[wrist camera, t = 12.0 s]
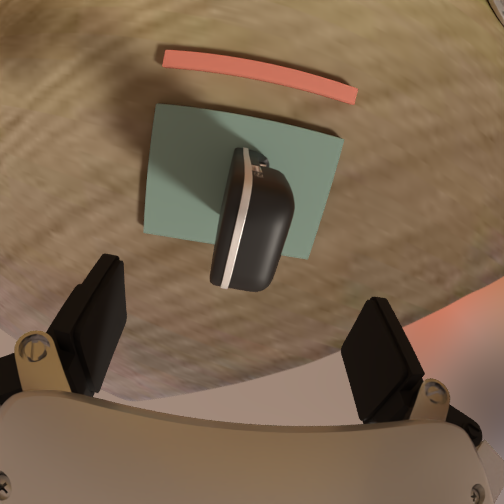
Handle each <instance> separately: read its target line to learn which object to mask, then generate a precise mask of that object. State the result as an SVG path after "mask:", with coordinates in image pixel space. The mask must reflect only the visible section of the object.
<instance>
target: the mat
mask: <svg viewBox="0 0 504 504" xmlns="http://www.w3.org/2000/svg"><path fill="white" fill-rule="evenodd" d="M343 143H344V139H342V138H339V137H336V136H332V135H329V134H325V133H321V132H318V131H314V130H310V129H306V128H302V127H298V126H294V125H290V124H286V123H281V122H277V121H272V120H267V119H262V118H257V117H252V116H247V115H242V114H236V113H230V112H224V111H218V110H211V109H204V108H197V107H189V106H180V105H171V104H160V103H158V104H156V108H155V115H154V122H153V129H152V137H151V145H150V154H149V163H148V173H147V185H146V198H145V214H144V233H148V234H154V235H160V236H167V237H173V238H179V239H185V240H191V241H197V242H204V243H210V244H215V240H216V234H217V228H218V222H219V216H220V211H221V206H222V201H223V197H224V192H225V188H226V183H227V179H228V174H229V170H230V166H231V161H232V157H233V153H234V150H235V148H237V147H239V148H243V147H245V148H248V149H249V150H253V151H257V152H259V153H261V154H263V155H264V156H265V157H267V159H268V161H269V165H270V166H269V168H273V169H276V170H278V171H280V172H281V173H283V174H284V175H285V177H286V179H287V181H288V182H289V184H290V187H291V189H292V192H293V196H294V202H295V210H294V215H293V219H292V222H291V226H290V229H289V232H288V235H287V238H286V241H285V244H284V248H283V251H282V254H281V255H284V256H290V257H296V258H302V259H308V257H309V254H310V251H311V248H312V245H313V242H314V239H315V236H316V233H317V230H318V227H319V224H320V220H321V217H322V214H323V211H324V208H325V204H326V201H327V198H328V195H329V191H330V188H331V185H332V181H333V178H334V174H335V171H336V167H337V164H338V160H339V157H340V153H341V150H342V146H343Z"/></svg>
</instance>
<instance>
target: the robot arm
mask: <svg viewBox="0 0 504 504" xmlns="http://www.w3.org/2000/svg"><path fill="white" fill-rule="evenodd" d="M488 1H489V3H490V5H491V7H492V8H493V10H494V12H495V14H496V15H497V17H498V18H499V20H500V21H501V23H502V24H503V25H504V0H488ZM126 319H127V312H126V300H125V284H124V264H123V261H120V260H119V257H118V256H115V255H110V254H103V255H102V256H101V257H100V259H99V260H98V261H97V263H96V264H95V266H94V267H93V268H92V270H91V271H90V273H89V274H88V276H87V277H86V279H85V280H84V281H83V283H82V284H78V285H77V286H76V287H75V288H74V290H73V291H72V293H71V294H70V296H69V297H68V299H67V300H66V302H65V303H64V305H63V306H62V308H61V309H60V311H59V312H58V314H57V316H56V317H55V319H54V320H53V322H52V324H51V325H50V327H49V328H48V330H47V332H46V333H45V332H43V331H30V332H28V333H25V334H24V335H22V336H21V337H20V338H19V339H18V341H17V342H16V345H15V349H14V353H12V354H10V355H7V356H4V357H1V358H0V504H494V503H495V501H496V500H497V498H498V496H499V494H500V493H501V490H502V489H503V487H504V460H503V459H502V458H501V457H500V456H499V455H498V453H497V452H496V451H495V450H494V449H493V448H492V447H491V446H490V445H489V443H487V441H486V440H483V441H482V431H481V429H480V426H479V425H478V424H477V423H476V422H475V421H474V420H472V419H471V418H469V417H468V416H466V415H465V414H463V413H462V412H460V411H459V410H457V409H455V408H454V407H453V406H451V405H450V394H449V391H448V389H447V388H446V387H445V385H444V384H442V383H441V382H440V381H438V380H436V379H431V378H430V379H426V380H425V381H423V379H422V377H423V376H424V374H425V373H424V371H423V369H422V367H421V365H420V362H419V361H418V358H417V356H416V354H415V352H414V350H413V348H412V346H411V344H410V342H409V340H408V338H407V336H406V335H405V332H404V330H403V328H402V326H401V325H400V323H399V321H398V319H397V317H396V315H395V313H394V311H393V310H392V308H391V306H390V304H389V302H388V300H387V299H386V298H380V297H372V298H370V300H367V301H366V303H365V304H364V306H363V308H362V310H361V312H360V314H359V316H358V318H357V320H356V322H355V323H354V325H353V327H352V329H351V331H350V333H349V334H348V336H347V338H346V340H345V341H344V343H343V345H342V348H341V355H342V358H343V361H344V365H345V368H346V372H347V375H348V379H349V382H350V386H351V390H352V393H353V397H354V401H355V404H356V408H357V412H358V416H359V419H360V420H361V421H363V424H358V425H341V426H274V425H273V426H272V425H255V424H242V423H231V422H221V421H212V420H205V419H197V418H191V417H184V416H178V415H172V414H166V413H161V412H156V411H151V410H146V409H141V408H137V407H131V406H127V405H123V404H119V403H115V402H111V401H107V400H103V399H99V398H94V397H93V395H94V393H95V392H96V393H98V392H99V391H100V389H101V386H102V383H103V380H104V378H105V375H106V372H107V369H108V367H109V364H110V361H111V359H112V356H113V354H114V351H115V349H116V346H117V344H118V341H119V339H120V336H121V334H122V331H123V329H124V326H125V324H126Z"/></svg>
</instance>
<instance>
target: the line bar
mask: <svg viewBox="0 0 504 504" xmlns="http://www.w3.org/2000/svg"><path fill="white" fill-rule="evenodd" d="M162 67H165V68H176V69H187V70H196V71H205V72H212V73H219V74H226V75H232V76H238V77H244V78H250V79H255V80H260V81H265V82H270V83H274V84H279V85H283V86H287V87H291V88H295V89H299V90H303V91H307V92H311V93H314V94H318V95H321V96H325V97H328V98H331V99H335V100H338V101H341V102H344V103H347V104H352V105H354V104H355V100H356V96H357V92H358V89H357V88H354V87H351V86H349V85H346V84H343V83H340V82H336V81H333V80H330V79H327V78H324V77H320V76H317V75H313V74H310V73H306V72H302V71H298V70H294V69H290V68H286V67H282V66H278V65H273V64H269V63H264V62H259V61H254V60H248V59H243V58H237V57H230V56H224V55H216V54H208V53H200V52H190V51H178V50H165V55H164V60H163V65H162Z"/></svg>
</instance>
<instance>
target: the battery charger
mask: <svg viewBox="0 0 504 504" xmlns="http://www.w3.org/2000/svg"><path fill="white" fill-rule="evenodd" d="M269 166H270V165H269V161H268V159H267V157H265V156H264V155H263V154H261V153H259V152H257V151H253V150H249V149H248V148H245V147H243V148H239V147H237V148H235V150H234V153H233V157H232V161H231V166H230V170H229V174H228V179H227V183H226V188H225V192H224V197H223V201H222V206H221V211H220V216H219V222H218V228H217V234H216V240H215V246H214V252H213V258H212V265H211V272H210V282H211V283H212V284H213V285H216V286H220V288H224V289H227V288H233V289H238V290H244V291H250V292H258V291H262V290H264V289H265V288H267V287H268V286H269V285H270V283H271V281H272V279H273V277H274V274H275V271H276V268H277V265H278V262H279V260H280V257H281V254H282V251H283V248H284V244H285V241H286V238H287V235H288V232H289V229H290V226H291V222H292V219H293V215H294V210H295V202H294V196H293V192H292V189H291V187H290V184H289V182H288V181H287V179H286V177H285V175H284V174H283V173H281V172H280V171H278V170H276V169H273V168H269Z"/></svg>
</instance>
